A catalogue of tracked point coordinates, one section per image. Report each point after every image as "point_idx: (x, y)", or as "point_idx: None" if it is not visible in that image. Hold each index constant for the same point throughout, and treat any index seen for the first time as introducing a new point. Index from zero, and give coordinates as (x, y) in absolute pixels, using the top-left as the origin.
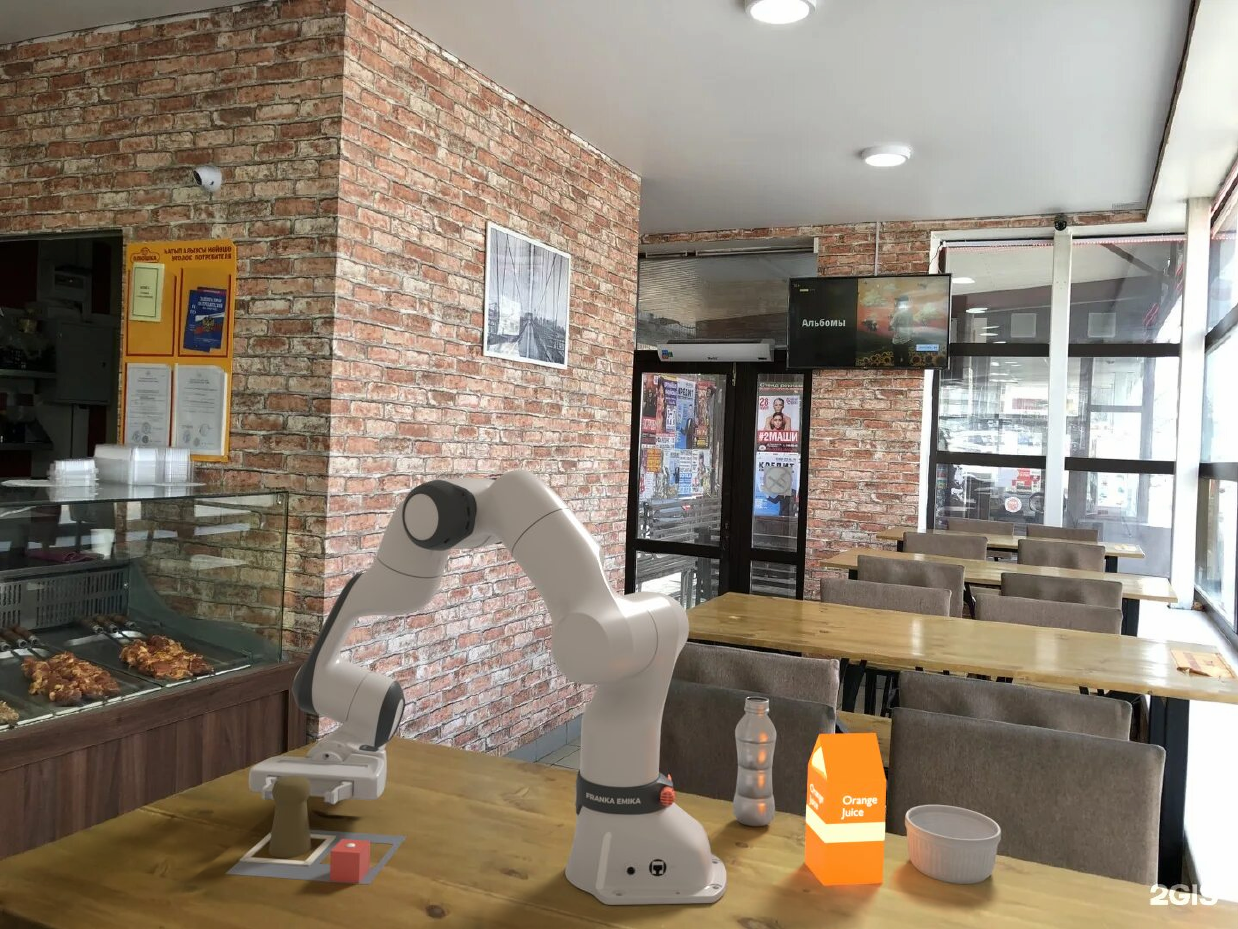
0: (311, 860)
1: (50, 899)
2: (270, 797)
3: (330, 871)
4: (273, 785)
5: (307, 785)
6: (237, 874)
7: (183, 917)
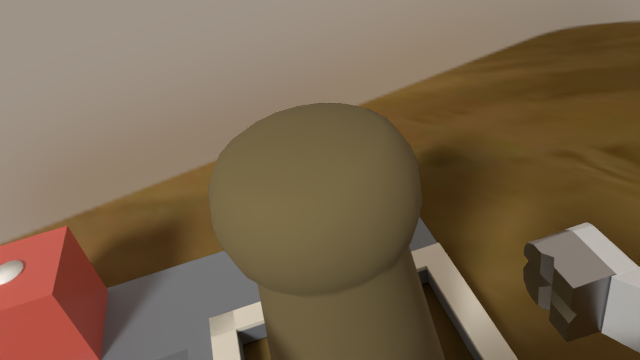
0: (216, 341)
1: (625, 44)
2: (527, 271)
3: (95, 272)
4: (573, 268)
5: (210, 192)
6: None
7: None
